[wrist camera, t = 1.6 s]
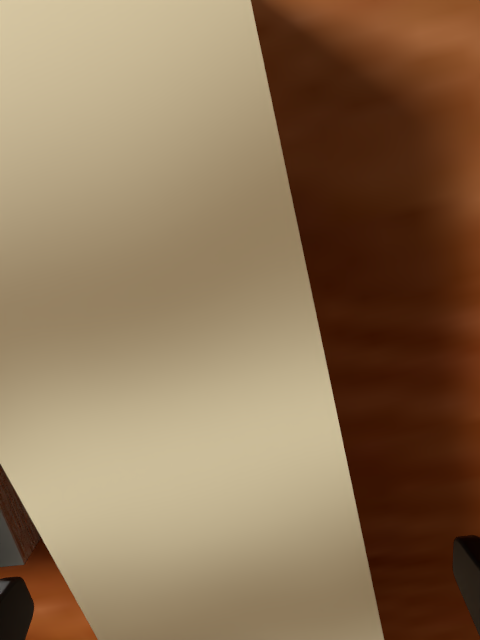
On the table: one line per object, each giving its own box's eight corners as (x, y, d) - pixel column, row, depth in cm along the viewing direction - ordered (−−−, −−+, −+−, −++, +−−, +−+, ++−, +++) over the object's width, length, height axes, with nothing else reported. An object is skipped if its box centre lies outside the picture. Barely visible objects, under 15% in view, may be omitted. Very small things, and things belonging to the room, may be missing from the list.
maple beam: (370, 652, 15) (441, 917, 10) (255, 669, 16) (259, 931, 10) (214, -28, 8) (141, -523, 3) (17, 40, 9) (-400, -255, 3)
